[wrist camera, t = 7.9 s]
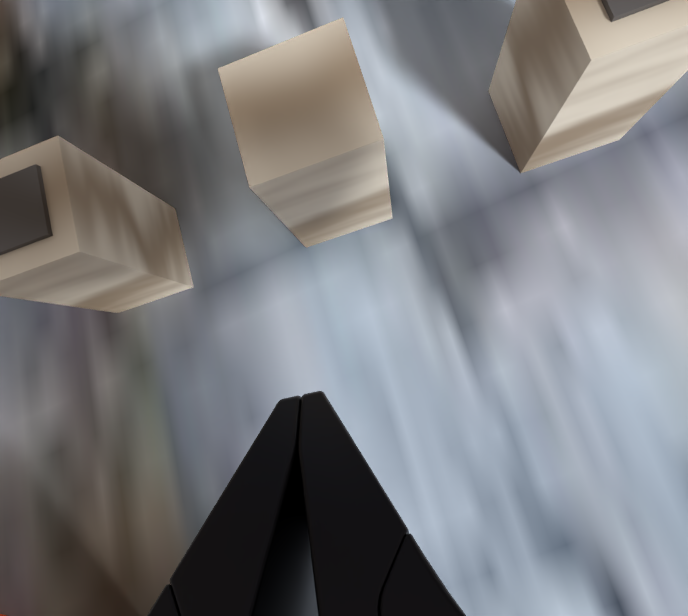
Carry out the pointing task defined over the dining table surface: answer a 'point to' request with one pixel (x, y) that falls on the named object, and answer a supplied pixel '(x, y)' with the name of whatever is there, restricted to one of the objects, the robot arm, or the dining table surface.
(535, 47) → the marked block 1
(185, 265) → the marked block 2
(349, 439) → the robot arm
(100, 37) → the dining table surface
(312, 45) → the plain block
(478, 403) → the dining table surface
